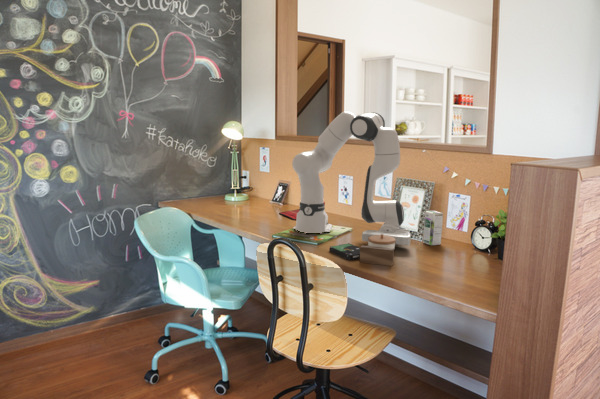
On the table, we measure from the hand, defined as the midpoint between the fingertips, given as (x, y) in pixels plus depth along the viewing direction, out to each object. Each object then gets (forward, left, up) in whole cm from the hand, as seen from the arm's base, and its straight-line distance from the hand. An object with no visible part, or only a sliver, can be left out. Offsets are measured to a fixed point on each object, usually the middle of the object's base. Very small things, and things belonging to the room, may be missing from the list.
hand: (383, 242), depth 189 cm
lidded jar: (+5, 0, -5) cm, 7 cm away
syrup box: (-25, +18, -5) cm, 31 cm away
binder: (-59, -57, -6) cm, 82 cm away
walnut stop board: (+13, 0, -5) cm, 14 cm away
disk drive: (+6, -13, -6) cm, 15 cm away
